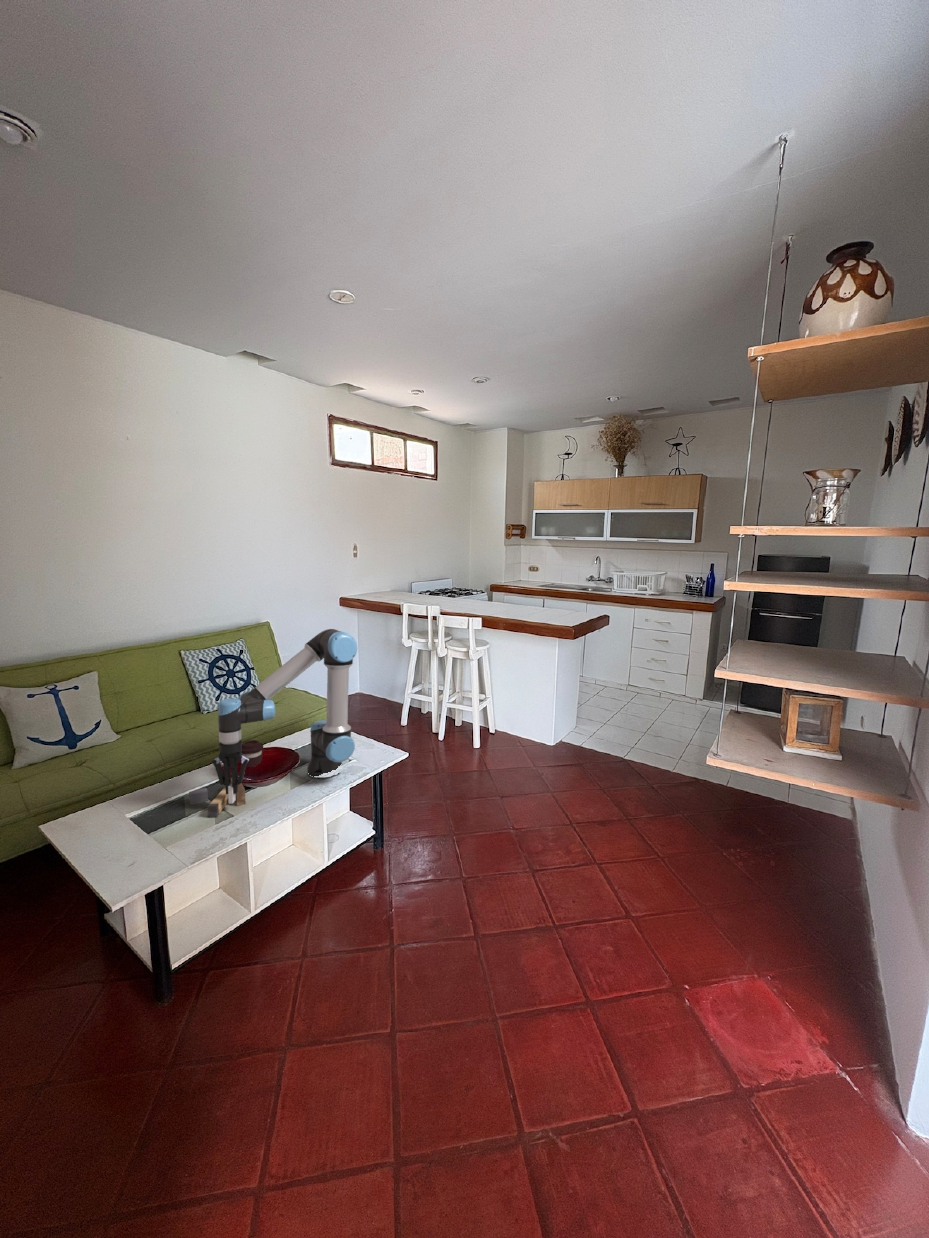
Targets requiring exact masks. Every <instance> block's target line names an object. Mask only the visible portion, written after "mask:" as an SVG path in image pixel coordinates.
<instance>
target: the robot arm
mask: <svg viewBox="0 0 929 1238" xmlns="http://www.w3.org/2000/svg"><path fill="white" fill-rule="evenodd" d="M357 653H358V644H357V641H356V639H355V637H353V636H352V635H351V634H349V633H348V632H345V631H341V630H338V629H335V628H330V629H324V630H322V631H321V632H319V633H317V634H316V635H315V636H314V637H312V638H311V639H310V640H309V641H307V642H306V643H304V647H303V649H301V650H300V651H299V652H298V653H296V654H295V655H294V656H292V657H291V658H290V659H289V660H287V661H286V662H285V663H284V664H282V665H281V666H280V667H279V668H278V669H276V670H275V671H274V672H272V673H271V674H270V675H269V676H268V677H266V678H265V679H263V680H262V681H261V682H260V683H259V684H258V685H256V686H255V687H253V688H252V689H251V690H249V691H245V692H242V693H241V694H240V695H239V697H238V698H235V697H234V698H224V699H222V700H220V701H219V702H218V707H217V708H218V710H217V722H218V741H219V743H218V751H219V754H218V757H215V758H214V759H213V760H212V761H211V763H212V765H213V766H214V768H215V772H216V775H217V779H218V782H219V785H221V786H224V787H225V786H226V794H228V798H229V802H228V804H235V800H236V799H235V794H236V793H237V792H238V785H239V784H241V783H242V784H243V781H244V779H245V778H244V774H245V770H246V765H247V763H248V761H249V760H250V758H246V757H244V756H243V753H242V744H243V742H242V724H250V723H255V722H262V721H264V722H265V721H268V720H272V719H274V718H275V716H276V705H275V702H274V701H273V699H272V698H273V697H274V696H276V695H277V694H278V693H279V692H281V691H282V690H283V689H284V688H285V687H286V686H288V685H289V684H291V682H293V681H295V679H296V678H298V677H299V676H300V675H301V674H303V673H304V672H305V671H306V670H307V669H309V668H310V667H311V666H313V664H315V663H316V662H321V661H322V660H323V665H324V666H325V667H326V668H327V671H326V672H327V674H326V675H327V679H326V680H327V683H326V694H327V695H326V719H322V720H317V721H315V722H312V723H311V725H310V729H309V730H310V731H309V732H310V751H311V752H310V754H311V755H310V760H309V762H308V765H307V769H306V770H307V774H308V773H309V775H311V776H313V777H314V776H319V775H321V774H323V773H328V772H331V771H332V770H336V769H337V768H338V766H340V765H341V764H342V765H343V762H345V761H347V760H349V758H350V757H351V756H352V755H353V753H354V751H355V748H356V744H355V741H354V739H353V738H352V726H351V725H350V724H349V723H348V722H349V719H348V718H349V717H348V714H349V713H348V712H349V679H350V677H349V676H350V667H352V666H353V664H354V662H353V661H354V658H355V657H356V656H357ZM240 760H242V761H240ZM241 762H242V765H241V764H240V771H239V769H238V768H239V763H241ZM222 764H223V767H222ZM238 771H239V772H238ZM309 775H308V776H309ZM231 777H232V781H231ZM238 777H239V778H238ZM313 777H312V778H313ZM231 782H232V784H230V783H231Z"/></svg>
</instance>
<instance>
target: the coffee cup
mask: <svg viewBox="0 0 929 1238" xmlns="http://www.w3.org/2000/svg"><path fill="white" fill-rule="evenodd" d="M263 749H264V744H263V743H262V742H260V741H259V740H255V739H251V740H250V739H249V740H246V741H244V742H242V753H243V756H244V757H246V758H250V760H249V761H248V763H247V765H246V767H256V766H257V765H258V764H260V763H261V761H262V762H263ZM241 761H242V760H240V761H239V762H240V766H241V765H242V762H241Z"/></svg>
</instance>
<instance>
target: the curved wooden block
mask: <svg viewBox="0 0 929 1238" xmlns="http://www.w3.org/2000/svg"><path fill="white" fill-rule="evenodd" d="M231 781H232V776H231ZM230 784H232V782H231V783H230ZM235 799H236V800H235V801H234V804H235V805H236V806H237V807H239V806H243V805H246V789H245V787H244V785H243V782H242V783H241V784H239V785H238V792H237V793H236V794H235Z"/></svg>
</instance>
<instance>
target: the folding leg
mask: <svg viewBox="0 0 929 1238" xmlns="http://www.w3.org/2000/svg"><path fill="white" fill-rule="evenodd" d="M228 804H229V798H228V794H226V786H225V785H224V787H223V789H222V790H221V791H220V792H219V793H218V794H217V795H216V797H214V798H213V800H211V802H210V803H209V804H208V805H207V808H206V809H207V817H208V818H217V817H219V815H220V813H221V812H222V810H224V808H225V807H226V806H227V805H228Z"/></svg>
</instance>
